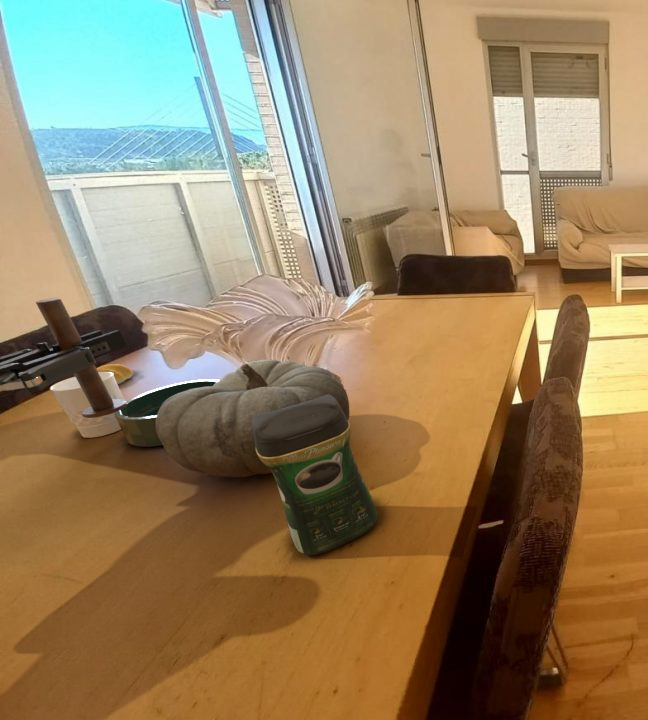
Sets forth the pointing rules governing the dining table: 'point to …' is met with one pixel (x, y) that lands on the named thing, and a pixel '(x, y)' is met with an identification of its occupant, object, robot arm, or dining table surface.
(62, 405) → the white cup
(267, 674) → the dining table surface
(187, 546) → the dining table surface
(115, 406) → the stirring stick
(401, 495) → the dining table surface
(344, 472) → the coffee jar
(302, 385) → the gourd
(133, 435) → the bowl
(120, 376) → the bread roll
